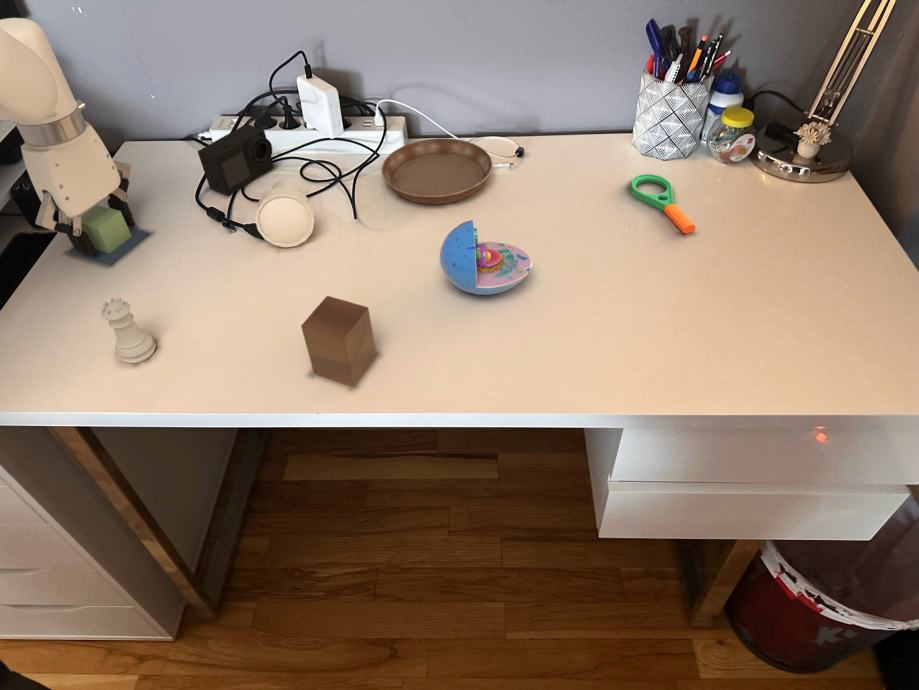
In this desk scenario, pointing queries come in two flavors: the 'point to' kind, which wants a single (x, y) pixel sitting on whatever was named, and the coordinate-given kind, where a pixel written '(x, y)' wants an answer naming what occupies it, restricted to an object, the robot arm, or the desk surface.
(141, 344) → the rook chess piece
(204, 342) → the desk surface
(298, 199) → the spotlight
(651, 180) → the magnifying glass
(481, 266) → the cell model
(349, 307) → the base block
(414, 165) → the plant saucer
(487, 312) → the desk surface
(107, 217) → the top block
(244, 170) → the digital camera
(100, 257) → the coaster
